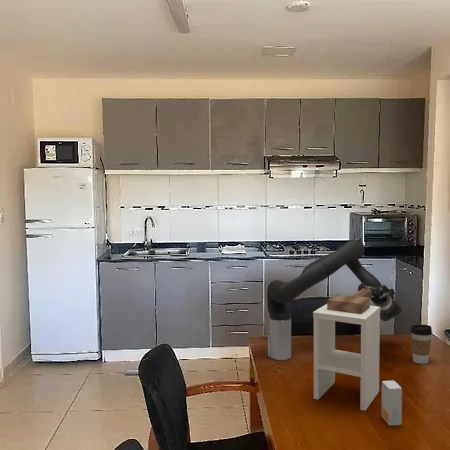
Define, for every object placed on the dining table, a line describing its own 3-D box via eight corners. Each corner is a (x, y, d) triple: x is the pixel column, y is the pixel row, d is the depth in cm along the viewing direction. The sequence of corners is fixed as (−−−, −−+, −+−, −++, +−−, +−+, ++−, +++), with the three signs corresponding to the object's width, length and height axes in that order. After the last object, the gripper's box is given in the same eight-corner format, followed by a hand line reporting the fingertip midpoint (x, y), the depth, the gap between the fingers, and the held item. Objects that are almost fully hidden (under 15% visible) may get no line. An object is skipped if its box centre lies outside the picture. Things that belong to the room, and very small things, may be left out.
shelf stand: (313, 399, 170) (313, 312, 168) (331, 381, 185) (331, 300, 183) (364, 411, 161) (365, 319, 158) (379, 391, 176) (380, 306, 173)
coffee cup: (433, 365, 199) (434, 329, 198) (411, 364, 201) (412, 328, 200) (429, 358, 207) (429, 323, 206) (408, 357, 209) (408, 323, 208)
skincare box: (380, 416, 157) (381, 380, 156) (393, 416, 157) (394, 380, 156) (388, 426, 151) (389, 388, 150) (402, 425, 151) (402, 387, 150)
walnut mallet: (327, 309, 170) (327, 299, 170) (351, 293, 194) (351, 285, 193) (361, 314, 164) (361, 303, 164) (382, 297, 187) (382, 288, 187)
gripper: (366, 288, 214) (356, 275, 202) (399, 292, 206) (392, 278, 194) (363, 305, 211) (353, 292, 199) (397, 309, 204) (389, 296, 191)
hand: (372, 285), depth 196 cm, fingers open, 8 cm apart
